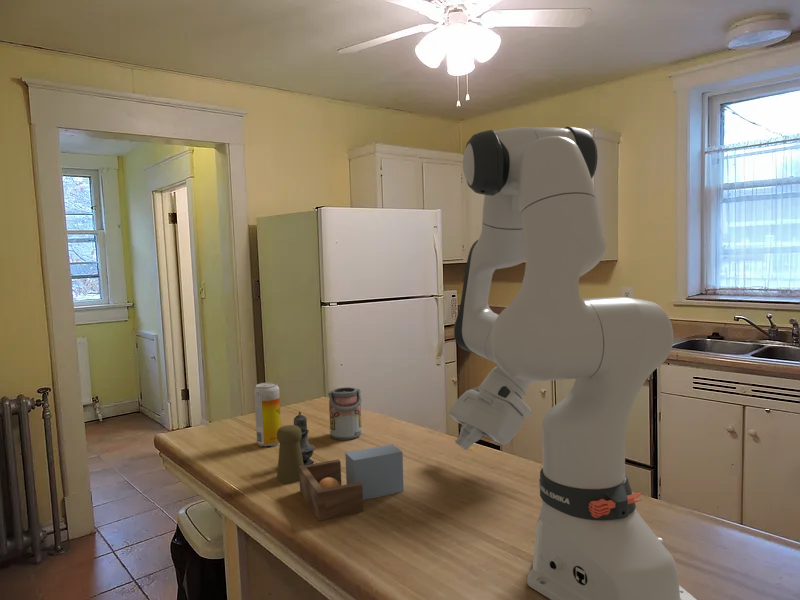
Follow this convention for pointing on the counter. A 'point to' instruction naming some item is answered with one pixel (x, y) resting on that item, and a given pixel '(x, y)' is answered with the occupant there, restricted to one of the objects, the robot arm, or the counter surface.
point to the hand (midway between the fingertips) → (460, 446)
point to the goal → (329, 491)
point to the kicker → (376, 470)
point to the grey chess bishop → (304, 439)
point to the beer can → (267, 413)
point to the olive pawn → (289, 454)
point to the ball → (328, 483)
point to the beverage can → (345, 413)
